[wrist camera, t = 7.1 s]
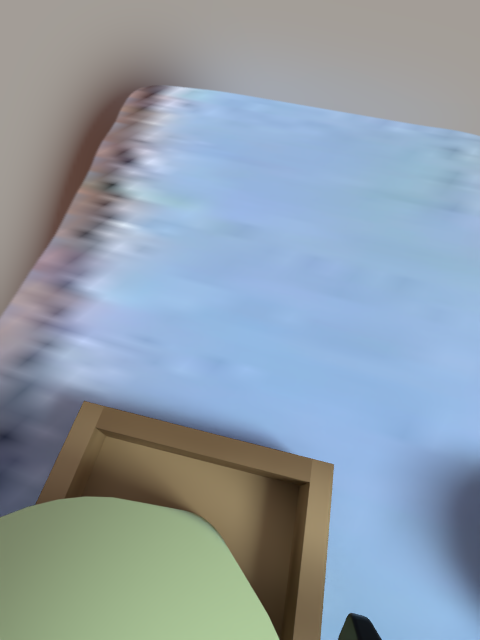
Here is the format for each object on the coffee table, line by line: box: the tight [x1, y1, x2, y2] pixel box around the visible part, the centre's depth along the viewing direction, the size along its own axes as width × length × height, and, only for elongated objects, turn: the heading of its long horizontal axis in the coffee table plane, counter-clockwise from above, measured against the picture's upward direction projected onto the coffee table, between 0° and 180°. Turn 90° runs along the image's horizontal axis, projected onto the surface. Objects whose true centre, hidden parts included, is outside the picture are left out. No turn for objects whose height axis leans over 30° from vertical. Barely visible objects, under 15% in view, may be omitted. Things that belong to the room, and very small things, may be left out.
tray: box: [35, 401, 334, 640], centre depth 14 cm, size 12×12×3 cm
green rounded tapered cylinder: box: [0, 496, 279, 640], centre depth 9 cm, size 6×6×13 cm
